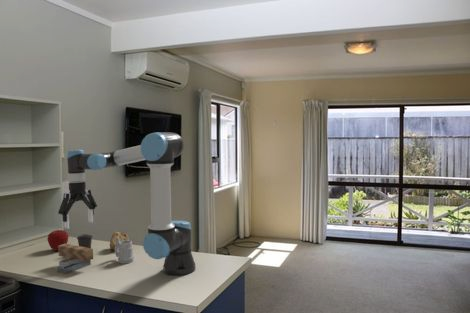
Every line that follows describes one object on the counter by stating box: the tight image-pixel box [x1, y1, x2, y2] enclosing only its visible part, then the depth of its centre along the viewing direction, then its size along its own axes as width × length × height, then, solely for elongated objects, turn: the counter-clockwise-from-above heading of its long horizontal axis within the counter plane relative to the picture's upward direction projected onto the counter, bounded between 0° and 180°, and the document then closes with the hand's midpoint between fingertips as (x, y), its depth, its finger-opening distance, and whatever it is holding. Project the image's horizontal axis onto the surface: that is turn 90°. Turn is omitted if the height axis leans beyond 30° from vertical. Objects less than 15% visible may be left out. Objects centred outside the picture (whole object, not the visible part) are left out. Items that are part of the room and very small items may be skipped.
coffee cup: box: [76, 234, 93, 248], centre depth 209 cm, size 8×8×10 cm
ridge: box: [57, 257, 92, 274], centre depth 186 cm, size 6×14×5 cm, turn 149°
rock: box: [109, 231, 130, 251], centre depth 216 cm, size 12×10×10 cm
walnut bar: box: [57, 243, 94, 261], centre depth 187 cm, size 20×4×5 cm, turn 61°
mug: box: [114, 236, 135, 264], centre depth 196 cm, size 8×12×12 cm, turn 57°
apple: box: [47, 229, 69, 252], centre depth 216 cm, size 11×11×12 cm
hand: (79, 225), depth 187 cm, fingers open, 13 cm apart
